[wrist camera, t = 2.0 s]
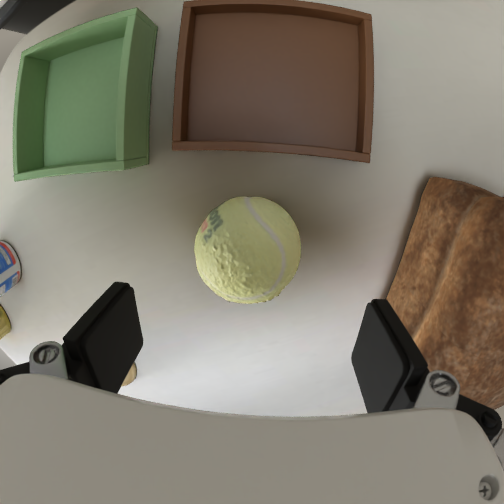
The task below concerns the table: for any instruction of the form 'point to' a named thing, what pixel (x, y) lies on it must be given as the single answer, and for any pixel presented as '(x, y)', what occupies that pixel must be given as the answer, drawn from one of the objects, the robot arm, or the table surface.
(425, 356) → the bread
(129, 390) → the table surface
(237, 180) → the table surface
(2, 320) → the vase
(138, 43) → the green bin
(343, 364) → the table surface
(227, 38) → the walnut tray
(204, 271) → the tennis ball
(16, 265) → the pill bottle
